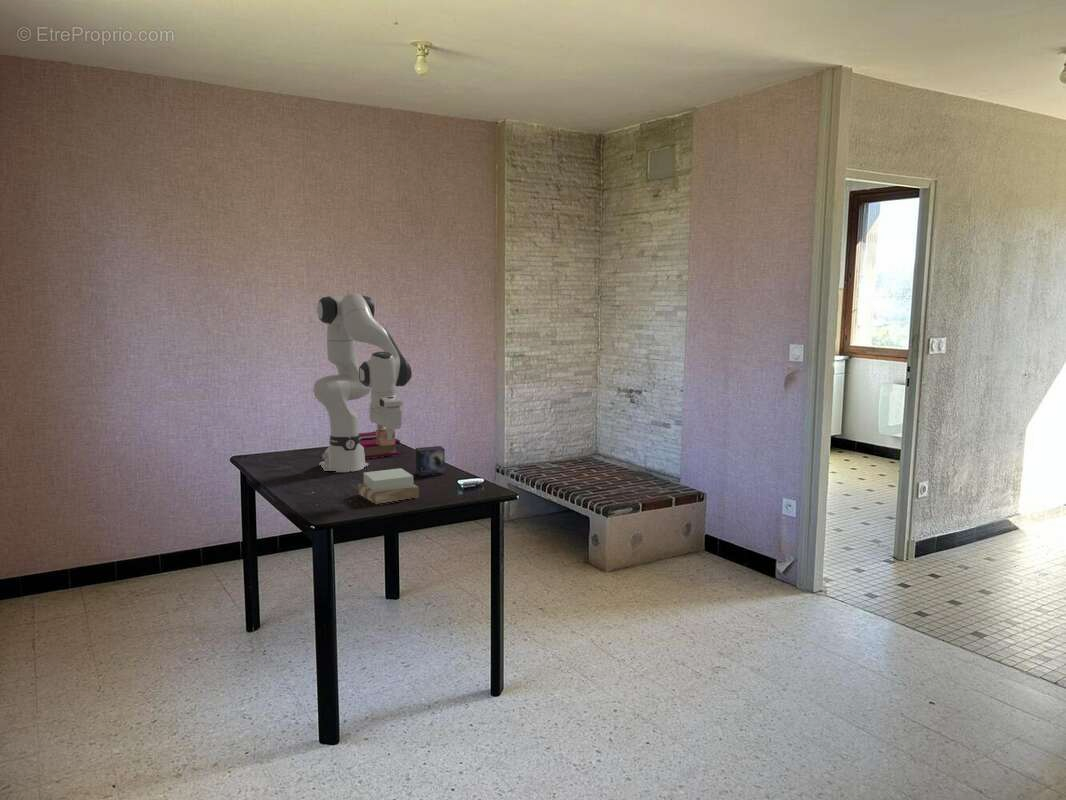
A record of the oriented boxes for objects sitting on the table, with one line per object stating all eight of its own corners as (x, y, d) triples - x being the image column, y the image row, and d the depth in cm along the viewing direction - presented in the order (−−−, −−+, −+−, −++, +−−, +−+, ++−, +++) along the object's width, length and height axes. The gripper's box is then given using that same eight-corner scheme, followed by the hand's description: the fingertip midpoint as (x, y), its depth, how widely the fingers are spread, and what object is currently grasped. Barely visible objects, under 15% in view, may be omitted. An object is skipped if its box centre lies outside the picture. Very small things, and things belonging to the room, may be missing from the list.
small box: (419, 477, 298) (418, 450, 297) (415, 473, 304) (414, 447, 303) (445, 474, 302) (445, 448, 301) (441, 471, 308) (440, 445, 307)
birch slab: (358, 496, 273) (358, 484, 272) (400, 490, 282) (399, 478, 281) (376, 506, 260) (375, 493, 259) (419, 499, 268) (418, 486, 268)
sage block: (363, 483, 273) (363, 472, 273) (401, 478, 280) (401, 468, 279) (374, 492, 261) (373, 481, 260) (413, 487, 267) (413, 476, 267)
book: (354, 461, 329) (354, 444, 328) (337, 450, 353) (336, 434, 352) (401, 456, 339) (400, 439, 338) (381, 445, 363) (381, 429, 362)
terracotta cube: (376, 443, 268) (375, 429, 268) (389, 442, 271) (389, 428, 270) (381, 446, 264) (381, 431, 264) (395, 444, 267) (394, 430, 266)
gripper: (364, 396, 272) (365, 434, 274) (387, 403, 255) (388, 443, 257) (380, 394, 276) (382, 432, 278) (404, 401, 259) (405, 441, 261)
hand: (385, 438), depth 267 cm, fingers closed on terracotta cube, 5 cm apart
